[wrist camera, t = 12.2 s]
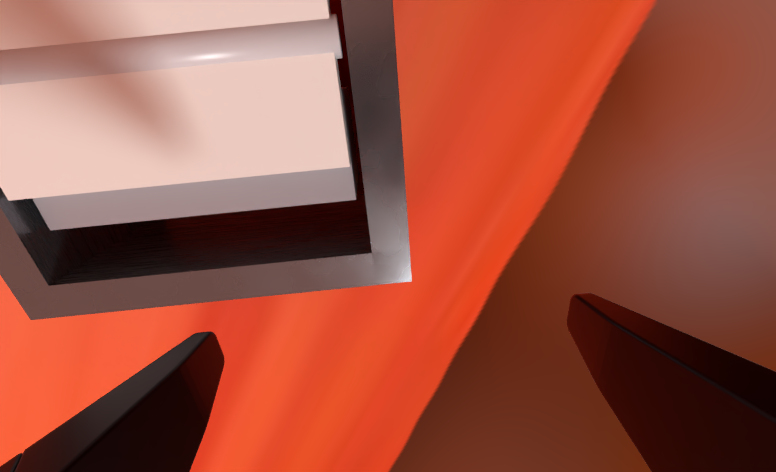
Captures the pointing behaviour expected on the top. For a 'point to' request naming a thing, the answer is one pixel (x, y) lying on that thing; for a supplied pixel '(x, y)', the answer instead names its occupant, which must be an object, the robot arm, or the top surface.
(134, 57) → the trapdoor flap
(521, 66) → the top surface
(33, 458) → the robot arm
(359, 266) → the trapdoor stand
